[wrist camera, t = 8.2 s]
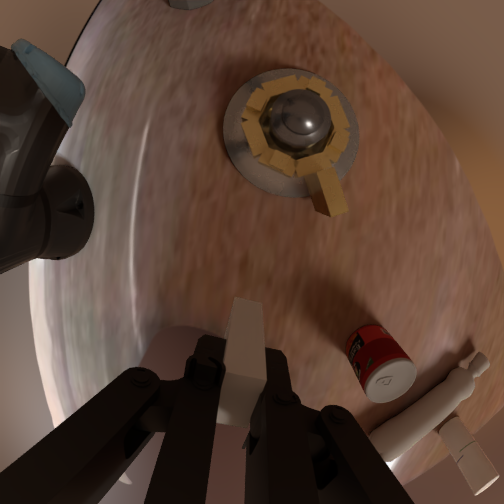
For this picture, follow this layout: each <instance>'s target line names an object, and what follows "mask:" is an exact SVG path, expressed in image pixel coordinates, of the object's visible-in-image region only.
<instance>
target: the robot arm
mask: <svg viewBox="0 0 504 504" xmlns="http://www.w3.org/2000/svg"><path fill="white" fill-rule="evenodd" d="M84 97H85V86H84V84H83V82H82V81H81V80H80V79H79V78H78V77H77V76H76V75H75V74H73V73H72V72H71V71H70V70H68V69H67V68H66V67H65V66H63V65H62V64H61V63H59V62H58V61H57V60H55V59H54V58H53V57H51V56H50V55H48V54H47V53H45V52H44V51H42V50H41V49H39V48H37V47H36V46H34V45H32V44H31V43H30V42H28V41H26V40H24V39H19V40H17V41H16V42H15V43H13V44H12V46H11V50H10V49H7V48H5V47H2V46H0V274H2V273H4V272H6V271H8V270H10V269H13V268H15V267H17V266H19V265H22V264H24V263H26V262H28V261H30V260H33V259H36V258H40V259H51V260H62V259H66V258H68V257H70V256H73V255H75V254H76V253H78V252H79V251H80V250H81V249H82V248H83V247H84V246H85V244H86V243H87V241H88V239H89V237H90V234H91V231H92V228H93V223H94V202H93V197H92V193H91V190H90V187H89V185H88V183H87V181H86V180H85V178H84V177H83V176H82V175H81V173H79V172H78V171H77V170H76V169H74V168H72V167H70V166H64V165H53V166H50V165H51V163H52V161H53V159H54V156H55V154H56V152H57V150H58V148H59V146H60V144H61V142H62V140H63V138H64V137H65V135H66V133H67V131H68V129H69V127H70V128H71V126H72V121H73V119H74V117H75V115H76V113H77V111H78V109H79V107H80V105H81V104H82V102H83V100H84ZM287 365H288V364H287V358H286V356H285V355H284V354H283V352H282V351H281V350H276V349H271V348H266V347H265V343H264V328H263V312H262V303H259V302H255V301H251V300H247V299H242V298H238V297H235V299H234V302H233V306H232V310H231V314H230V318H229V322H228V326H227V329H226V333H225V337H224V339H222V338H218V337H214V336H210V335H206V334H205V335H203V336H202V337H201V338H199V339H198V342H197V345H196V348H195V351H194V354H193V355H192V356H190V357H189V358H188V359H187V361H186V367H185V373H184V377H183V378H180V379H178V380H172V381H166V380H160V379H159V377H158V376H157V374H156V373H154V372H153V371H151V370H149V369H146V368H141V367H133V368H129V369H127V370H125V371H124V372H123V373H121V374H120V375H119V376H118V377H117V378H116V379H114V380H113V381H112V382H111V383H110V384H108V385H107V386H106V387H105V388H104V389H102V390H101V391H100V392H99V393H98V394H96V395H95V396H94V397H93V398H91V399H90V400H89V401H88V402H87V403H85V404H84V405H83V406H82V407H81V408H79V409H78V410H77V411H76V412H75V413H73V414H72V415H71V416H70V417H68V418H67V419H66V420H65V421H64V422H62V423H61V424H60V425H59V426H58V427H56V428H55V429H54V430H53V431H51V432H50V433H49V434H48V435H47V436H45V437H44V438H43V439H42V440H41V441H39V442H38V443H37V444H36V445H34V446H33V447H32V448H31V449H29V450H28V451H27V452H26V453H24V454H23V455H22V456H21V457H20V458H18V459H17V460H16V461H15V462H13V463H12V464H11V465H10V466H8V467H7V468H6V469H5V470H3V471H2V472H1V473H0V504H98V503H99V502H100V500H101V499H102V498H103V497H104V496H105V494H106V493H107V492H108V491H109V490H110V489H111V487H112V486H113V485H114V484H115V483H116V481H117V480H118V479H119V478H120V477H121V475H122V474H123V473H124V472H125V470H126V469H127V468H128V467H129V466H130V464H131V463H132V462H133V461H134V459H135V458H136V457H137V456H138V454H139V453H140V452H141V451H142V449H143V448H144V447H145V446H146V444H147V443H148V442H149V440H150V439H151V438H152V437H153V436H154V434H155V432H166V433H165V436H164V439H163V442H162V446H161V449H160V452H159V455H158V458H157V461H156V465H155V468H154V471H153V475H152V478H151V481H150V484H149V488H148V491H147V495H146V498H145V501H144V504H205V500H206V493H207V484H208V478H209V470H210V463H211V455H212V448H213V441H214V435H215V427H216V422H217V423H221V424H226V425H232V426H237V427H243V428H247V427H248V425H249V423H250V431H249V433H248V435H247V437H246V440H245V442H244V444H243V447H242V449H245V447H246V475H245V504H414V502H413V501H412V500H411V498H410V497H409V495H408V494H407V492H406V491H405V490H404V488H403V487H402V485H401V484H400V482H399V481H398V480H397V478H396V477H395V475H394V474H393V473H392V471H391V470H390V468H389V467H388V465H387V464H386V463H385V461H384V460H383V458H382V457H381V456H380V454H379V453H378V451H377V450H376V448H375V447H374V446H373V444H372V443H371V441H370V440H369V438H368V437H367V436H366V434H365V433H364V431H363V430H362V428H361V427H360V425H359V424H358V423H357V421H356V420H355V418H354V417H353V415H352V414H351V413H350V412H349V411H348V410H346V409H345V408H343V407H341V406H337V405H328V406H325V407H324V408H323V409H322V410H321V411H317V410H314V409H311V408H309V407H306V406H304V405H302V404H301V401H300V399H299V396H298V395H297V394H295V393H294V392H293V391H292V387H291V381H290V375H289V372H288V371H289V370H288V366H287Z"/></svg>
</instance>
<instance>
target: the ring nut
mask: <svg viewBox="0 0 504 504" xmlns="http://www.w3.org/2000/svg"><path fill="white" fill-rule="evenodd" d="M325 85H326V82H324V81H322V80H320V79H318V78H316V77H314V76H312V78H311V80H310V79H308V78H306V77H304V76H302V75H301V77H300V78H299V80H297V78H296V76H295V75H291V76H287V77H284V78H280V79H276V80H273V81H269V82H266V83H262V84H261V89H259V88H256V90H255V91H254V92H253V93H252V94H251V96H250V98H249V100H248V102H247V104H246V108H245V110H244V112H243V114H242V116H241V119H242V123H241V126H242V130H243V132H244V135H245V137H246V140H247V143H248V145H249V148H250V150H251V153H252V156H253V158H254V159H255V158H258V157H260V158H259V160H258V164H260V165H263V166H265V167H267V168H269V169H271V170H273V171H275V172H278V173H280V174H282V175H284V176H286V177H288V178H290V177H292V176H293V174H294V177H295V178H298V177H301V176H304V179H305V182H306V185H307V187H308V190H309V193H310V196H311V199H312V202H313V205H314V208H315V211H317V212H319V213H322V214H324V215H327V216H329V217H334V216H337V215H340V214H342V213H345V212H348V207H347V204H346V201H345V197H344V194H343V191H342V188H341V185H340V182H339V179H338V176H337V173H336V170H335V167H332V165H331V164H334V163H337V161H338V159H339V156H340V154H341V153H342V152H344V150H345V148H346V146H347V144H348V141H349V138H348V137H349V134H350V132H348V131H346V129H348V128H349V127H350V125H349V123H348V120H347V118H346V115H345V113H344V110H343V108H342V105H341V103H340V101H339V98H338V96H333V97H330V96H331V94H332V92H333V91H332V90H330V89H328V88H326V87H325ZM293 89H304V90H309V91H311V92H313V93H315V94H317V95H318V96H320V97H321V98H322V99H323V100H324V101H325V102H326V104H327V106H328V107H329V110H330V113H331V126H330V129H329V131H328V134H327V136H326V138H325V140H324V143H323V145H322V147H321V149H320V151H319V153H318V154H314V155H311V156H308V157H305V158H302V159H298V160H294V159H292V158H290V157H291V156H289V155H287V154H285V153H283V152H280V151H278V150H273V149H271V148H269V147H268V144H267V142H266V139H265V136H264V134H263V131H262V129H261V126H260V124H259V123H260V121H261V119H262V117H263V115H264V113H265V111H266V109H267V107H268V106H269V104H270V103H273V102H275V101H276V100H277V98H278V97H279V96H280V95H282V94H283V93H285V92H287V91H289V90H293ZM330 167H331V168H330ZM326 168H327V169H326Z"/></svg>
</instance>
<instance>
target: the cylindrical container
mask: <svg viewBox="0 0 504 504" xmlns="http://www.w3.org/2000/svg"><path fill="white" fill-rule="evenodd" d="M439 435H440V437H441V438H442V440H443V441H444V443H445V445H446V446H447V448H448V450H449V451H450V453H451V455H452V456H453V458H454V460H455V461H456V463H457V465H458V466H459V468H460V470H461V472H462V473H463V475H464V477H465V478H466V480H467V482H468V484H469V486H470V488H471V489H472V491H473V493H474V495H477V494H479V493H481V492H482V491H484V490H485V489H486V488H488V487H489V486H490V485H491V484H492V483H493V482H494V481H496V480H497V478H498V477H499V474H498V473H497V471H496V470H495V468H494V467H493V465H492V463H491V462H490V461H489V459H488V457H487V456H486V454H485V453H484V452H483V450H482V449H481V447H480V446H479V444H478V443H477V442H476V440H475V439H474V437H473V436H472V434H471V433H470V431H469V430H468V429H467V427H466V426H465V425H464V423H463V422H462V420H461V419H460V418H459V417H454V418H452V419H450V420H449V421H448V422H446V423H445V424H444V425H443V426H442V427H441V429H440V430H439Z"/></svg>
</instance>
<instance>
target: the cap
mask: <svg viewBox="0 0 504 504" xmlns="http://www.w3.org/2000/svg"><path fill="white" fill-rule="evenodd" d="M291 75H295V76H296V78H297V80H299V78H300V77H301V75H302V76H304V77H306V78H308V79H310V80H311V78H312V76H314V77H316V78H318V79H320V80H322V81H324V82H326V85H325V87H326V88H328V89H330V90H332V91H333V92H332V94H331V96H330V97H333V96H338V98H339V101H340V103H341V105H342V108H343V110H344V113H345V115H346V118H347V120H348V123H349V125H350V127H349V128H348V129H346V131H348V132H350V134H349V137H348V138H349V141H348V144H347V146H346V148H345V150H344V152H342V153H341V154H340V156H339V159H338V161H337V163H334V164H331V165H332V167H335V170H336V173H337V176H338V179H339V181H340V180H341V179H342V178H343V177H344V176H345V175H346V173H347V172H348V171H349V169H350V168H351V166H352V164H353V162H354V160H355V157H356V154H357V151H358V145H359V128H358V123H357V119H356V116H355V113H354V111H353V109H352V107H351V105H350V103H349V102H348V100H347V99H346V97H345V96H344V95H343V94H342V93H341V91H340V90H339V89H338V88H336V87H335V86H334V85H333V84H332V83H330V82H329V81H327V80H326V79H324V78H322V77H320V76H318V75H316V74H314V73H311V72H308V71H304V70H299V69H276V70H271V71H267V72H264V73H262V74H259V75H257V76H255V77H254V78H252V79H250V80H249V81H247V82H246V83H245V84H244V85H243V86H242V87H240V88H239V89H238V91H237V92H236V93H235V95H234V96H233V97H232V99H231V101H230V103H229V105H228V107H227V110H226V113H225V117H224V124H223V136H224V142H225V146H226V149H227V152H228V155H229V157H230V158H231V160H232V162H233V164H234V165H235V167H236V168H237V170H238V171H239V172H240V173H241V174H242V175H243V176H244V177H245V178H246V179H247V180H248V181H250V182H251V183H252V184H254V185H255V186H257V187H258V188H260V189H262V190H264V191H266V192H269V193H272V194H275V195H280V196H284V197H305V196H310V193H309V190H308V187H307V185H306V182H305V179H304V176H301V177H298V178H295V177H294V174H293V176H292V177H290V178H288V177H286V176H284V175H282V174H280V173H278V172H275V171H273V170H271V169H269V168H267V167H265V166H263V165H260V164H258V160H259V158H260V157H258V158H255V159H254V158H253V156H252V153H251V150H250V148H249V145H248V143H247V140H246V137H245V135H244V132H243V130H242V126H241V123H242V119H241V116H242V114H243V112H244V110H245V108H246V104H247V102H248V100H249V98H250V96H251V94H252V93H253V92H254V91H255V90H256V88H259V89H261V84H262V83H266V82H269V81H273V80H276V79H280V78H284V77H287V76H291ZM259 124H260V126H261V129H262V131H263V134H264V136H265V139H266V142H267V144H268V147H269V148H271V149H273V150H278V151H280V152H283V153H285V154H287V155H289V156H291V157H290V158H292V159H294V160H298V159H302V158H305V157H308V156H311V155H314V154H318V153H319V151H320V149H321V147H322V145H323V143H324V140H325V138H326V136H327V134H328V131H329V129H330V126H331V113H330V110H329V107H328V106H327V104H326V102H325V101H324V100H323V99H322V98H321V97H320V96H318V95H317V94H315V93H313V92H311V91H309V90H304V89H293V90H289V91H287V92H285V93H283V94H282V95H280V96H279V97H278V98H277V100H276V101H275V102H273V103H270V104H269V106H268V107H267V109H266V111H265V113H264V115H263V117H262V119H261V121H260V123H259ZM330 168H331V167H330ZM326 169H327V168H326Z"/></svg>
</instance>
